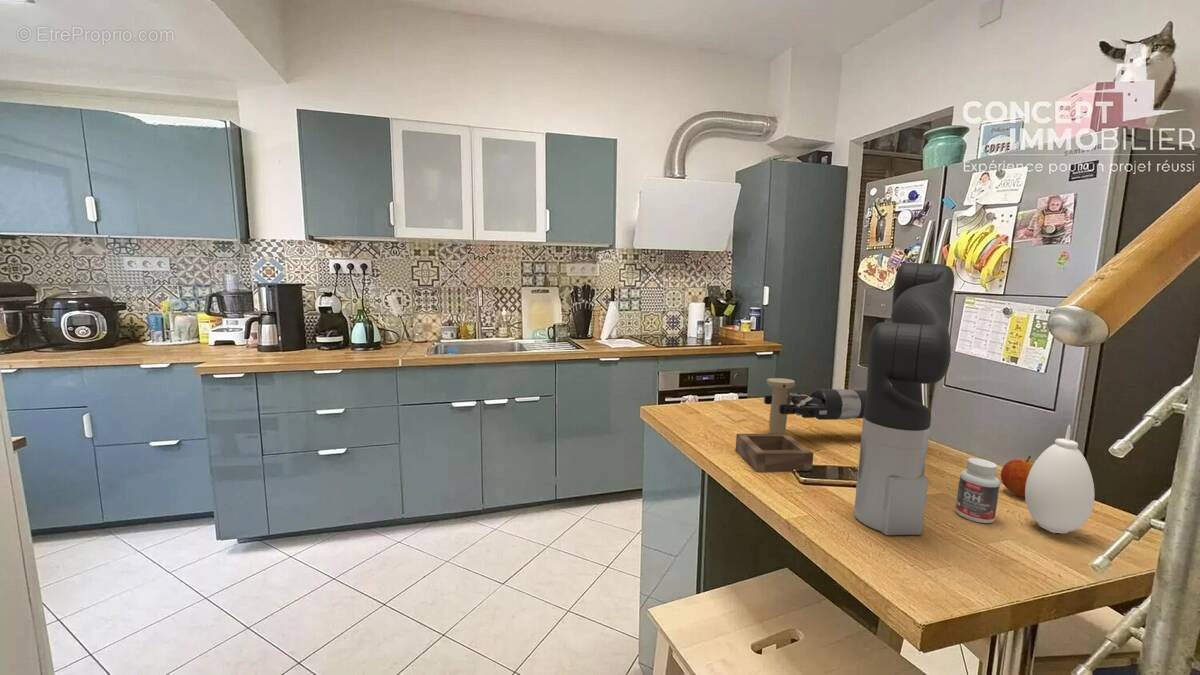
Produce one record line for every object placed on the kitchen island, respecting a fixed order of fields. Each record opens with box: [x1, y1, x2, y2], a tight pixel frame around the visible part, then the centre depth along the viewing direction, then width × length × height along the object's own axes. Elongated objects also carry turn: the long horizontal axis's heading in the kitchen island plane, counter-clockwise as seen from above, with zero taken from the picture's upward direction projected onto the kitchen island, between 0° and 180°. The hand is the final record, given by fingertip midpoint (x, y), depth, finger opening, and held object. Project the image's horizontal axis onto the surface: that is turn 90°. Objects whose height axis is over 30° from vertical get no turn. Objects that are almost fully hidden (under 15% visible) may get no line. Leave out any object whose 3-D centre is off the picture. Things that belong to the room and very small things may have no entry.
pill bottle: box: [955, 457, 1001, 524], centre depth 81 cm, size 5×5×10 cm
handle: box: [766, 377, 796, 434], centre depth 117 cm, size 5×6×15 cm
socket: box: [735, 432, 814, 473], centre depth 104 cm, size 12×12×4 cm
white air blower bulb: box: [1024, 424, 1095, 534], centre depth 76 cm, size 8×8×18 cm
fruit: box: [1000, 455, 1035, 499], centre depth 89 cm, size 7×7×8 cm
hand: (771, 404), depth 117 cm, fingers open, 8 cm apart
